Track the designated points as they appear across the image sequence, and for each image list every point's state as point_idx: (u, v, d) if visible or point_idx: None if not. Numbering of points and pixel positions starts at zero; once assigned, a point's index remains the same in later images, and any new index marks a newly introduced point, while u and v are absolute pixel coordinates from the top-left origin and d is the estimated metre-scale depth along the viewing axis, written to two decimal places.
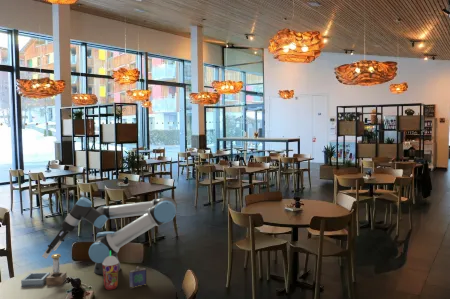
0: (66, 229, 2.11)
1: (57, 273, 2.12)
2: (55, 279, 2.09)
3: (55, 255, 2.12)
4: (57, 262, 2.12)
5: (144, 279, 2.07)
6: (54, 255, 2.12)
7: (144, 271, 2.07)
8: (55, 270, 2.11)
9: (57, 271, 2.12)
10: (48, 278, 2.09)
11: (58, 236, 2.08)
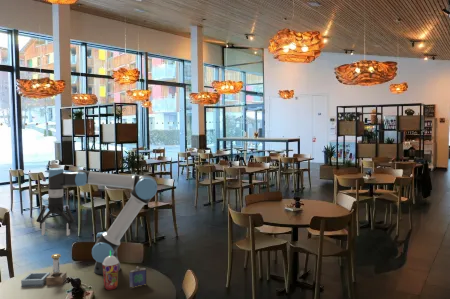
0: None
1: (57, 273, 2.12)
2: (55, 279, 2.09)
3: (55, 255, 2.12)
4: (57, 262, 2.12)
5: (144, 279, 2.07)
6: (54, 255, 2.12)
7: (144, 271, 2.07)
8: (55, 270, 2.11)
9: (57, 271, 2.12)
10: (48, 278, 2.09)
11: (68, 210, 2.12)
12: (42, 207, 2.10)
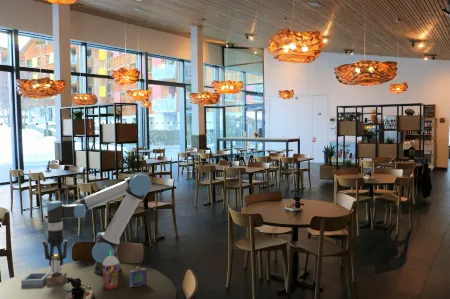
0: None
1: (57, 273, 2.12)
2: (55, 279, 2.09)
3: (55, 255, 2.12)
4: (57, 262, 2.12)
5: (144, 279, 2.07)
6: (54, 255, 2.12)
7: (144, 271, 2.07)
8: (55, 270, 2.11)
9: (57, 271, 2.12)
10: (48, 278, 2.09)
11: (66, 245, 2.13)
12: (43, 244, 2.11)
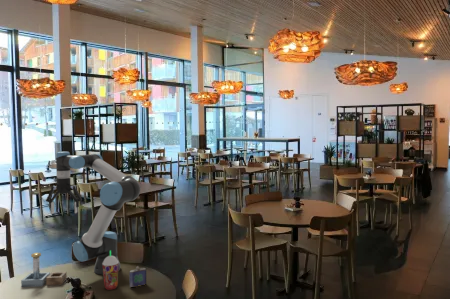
0: None
1: (37, 272, 2.11)
2: (55, 279, 2.09)
3: (35, 254, 2.11)
4: (37, 261, 2.11)
5: (144, 279, 2.07)
6: (34, 254, 2.11)
7: (144, 271, 2.07)
8: (35, 269, 2.10)
9: (37, 270, 2.11)
10: (48, 278, 2.09)
11: (76, 189, 2.29)
12: (51, 188, 2.27)
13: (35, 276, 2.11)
